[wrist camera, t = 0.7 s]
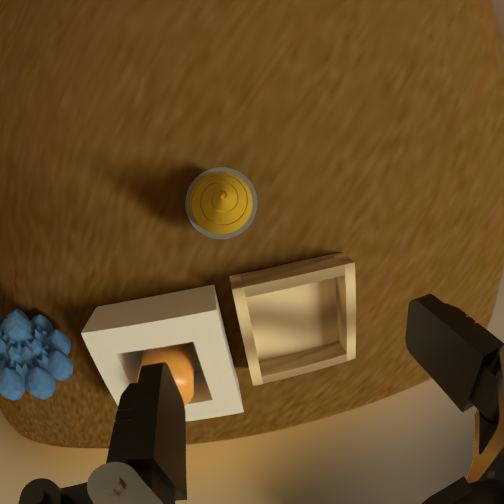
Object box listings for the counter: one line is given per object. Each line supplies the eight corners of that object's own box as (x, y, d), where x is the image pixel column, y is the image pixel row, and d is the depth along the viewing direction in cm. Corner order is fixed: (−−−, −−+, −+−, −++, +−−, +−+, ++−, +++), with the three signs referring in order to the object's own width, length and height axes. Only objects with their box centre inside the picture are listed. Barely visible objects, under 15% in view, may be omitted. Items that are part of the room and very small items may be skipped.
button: (135, 342, 27) (127, 372, 23) (186, 334, 28) (184, 363, 23) (152, 381, 29) (147, 412, 25) (199, 374, 29) (200, 405, 25)
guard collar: (96, 306, 28) (80, 333, 23) (214, 284, 29) (216, 309, 24) (136, 395, 32) (130, 426, 27) (237, 380, 33) (243, 412, 28)
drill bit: (196, 242, 27) (183, 254, 17) (184, 181, 26) (165, 159, 16) (257, 229, 27) (279, 235, 17) (245, 169, 27) (261, 141, 17)
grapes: (92, 296, 27) (44, 371, 16) (92, 351, 29) (57, 432, 18) (0, 271, 25) (-66, 324, 14) (5, 325, 27) (-46, 387, 15)
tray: (229, 276, 29) (232, 289, 26) (341, 252, 30) (354, 262, 27) (249, 367, 32) (253, 385, 29) (344, 343, 33) (355, 358, 30)
